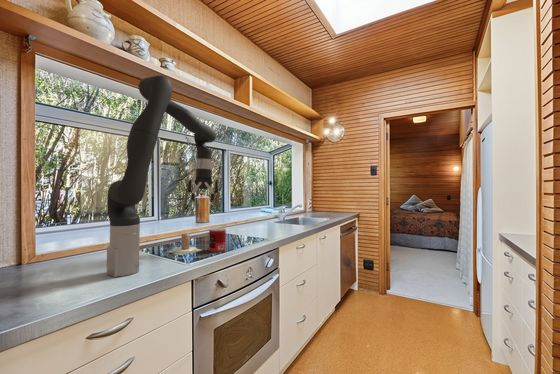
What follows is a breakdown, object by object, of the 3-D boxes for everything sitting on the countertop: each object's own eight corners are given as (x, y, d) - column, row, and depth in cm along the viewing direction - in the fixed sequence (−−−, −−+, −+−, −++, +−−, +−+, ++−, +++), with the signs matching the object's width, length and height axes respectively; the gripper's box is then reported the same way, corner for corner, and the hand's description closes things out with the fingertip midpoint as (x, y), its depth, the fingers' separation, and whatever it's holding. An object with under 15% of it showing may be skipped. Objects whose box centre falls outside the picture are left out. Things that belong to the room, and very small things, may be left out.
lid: (182, 254, 115) (182, 236, 115) (169, 251, 120) (169, 234, 120) (200, 250, 123) (201, 233, 123) (187, 247, 129) (188, 231, 129)
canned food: (227, 249, 127) (227, 227, 128) (222, 253, 119) (222, 230, 120) (212, 249, 128) (212, 227, 128) (206, 253, 120) (206, 229, 120)
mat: (180, 256, 114) (180, 255, 114) (167, 253, 120) (167, 251, 120) (202, 251, 124) (202, 249, 124) (189, 248, 129) (189, 247, 129)
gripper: (187, 167, 121) (186, 201, 121) (218, 168, 124) (217, 201, 123) (190, 168, 128) (189, 200, 128) (219, 169, 131) (218, 201, 131)
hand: (202, 201), depth 126 cm, fingers open, 8 cm apart
